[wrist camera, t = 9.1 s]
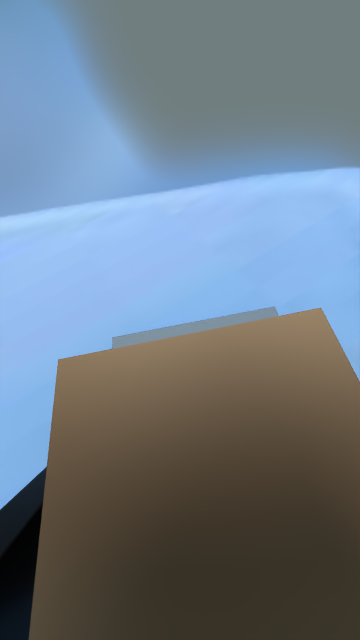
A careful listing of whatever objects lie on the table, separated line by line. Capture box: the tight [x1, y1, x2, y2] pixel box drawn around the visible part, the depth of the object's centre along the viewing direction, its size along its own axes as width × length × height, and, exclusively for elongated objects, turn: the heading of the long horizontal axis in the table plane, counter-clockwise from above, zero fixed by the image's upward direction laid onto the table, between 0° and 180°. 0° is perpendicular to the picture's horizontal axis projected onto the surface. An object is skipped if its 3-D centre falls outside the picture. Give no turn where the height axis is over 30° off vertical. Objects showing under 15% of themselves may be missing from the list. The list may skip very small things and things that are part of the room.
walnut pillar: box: [29, 308, 360, 640], centre depth 9 cm, size 5×5×13 cm
